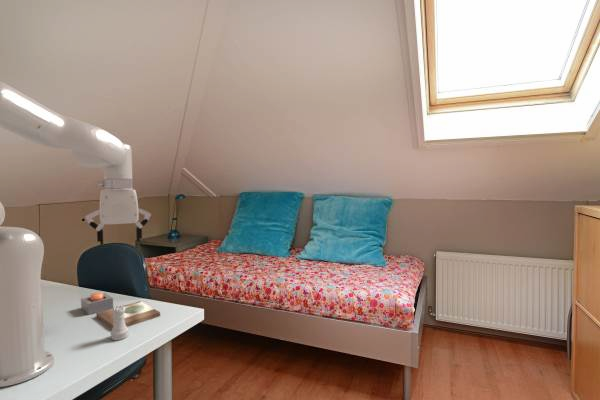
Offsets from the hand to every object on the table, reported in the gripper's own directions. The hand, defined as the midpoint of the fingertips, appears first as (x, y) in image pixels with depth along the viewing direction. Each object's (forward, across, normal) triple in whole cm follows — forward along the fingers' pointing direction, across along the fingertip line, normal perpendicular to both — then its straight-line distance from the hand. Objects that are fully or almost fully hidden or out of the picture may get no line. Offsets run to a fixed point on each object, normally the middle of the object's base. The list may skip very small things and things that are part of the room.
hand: (120, 242), depth 102 cm
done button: (+20, -7, +11) cm, 24 cm away
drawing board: (+23, +2, -1) cm, 23 cm away
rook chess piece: (+23, -1, -14) cm, 27 cm away
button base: (+23, -7, +11) cm, 26 cm away
